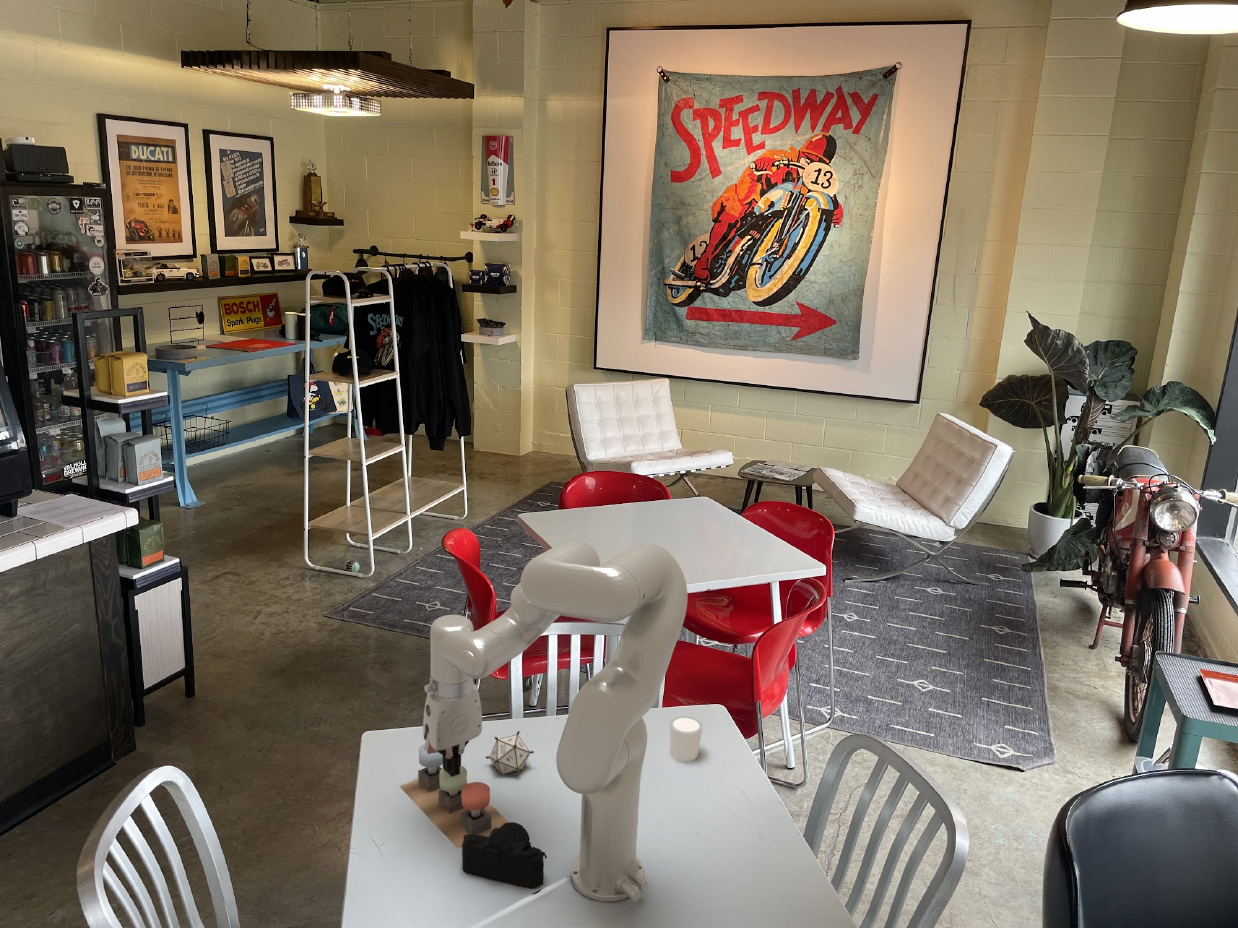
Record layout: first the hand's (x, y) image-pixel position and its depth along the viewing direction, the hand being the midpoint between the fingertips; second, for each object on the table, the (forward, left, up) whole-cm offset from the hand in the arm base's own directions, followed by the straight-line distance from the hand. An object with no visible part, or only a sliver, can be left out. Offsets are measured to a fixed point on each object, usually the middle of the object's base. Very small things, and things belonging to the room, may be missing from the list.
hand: (451, 771), depth 172 cm
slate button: (+8, 0, -4) cm, 9 cm away
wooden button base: (0, 0, -8) cm, 8 cm away
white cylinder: (-12, -48, -8) cm, 50 cm away
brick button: (-8, 0, -4) cm, 9 cm away
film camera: (-20, +1, -9) cm, 22 cm away
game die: (+4, -15, -8) cm, 18 cm away
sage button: (0, 0, -5) cm, 5 cm away
